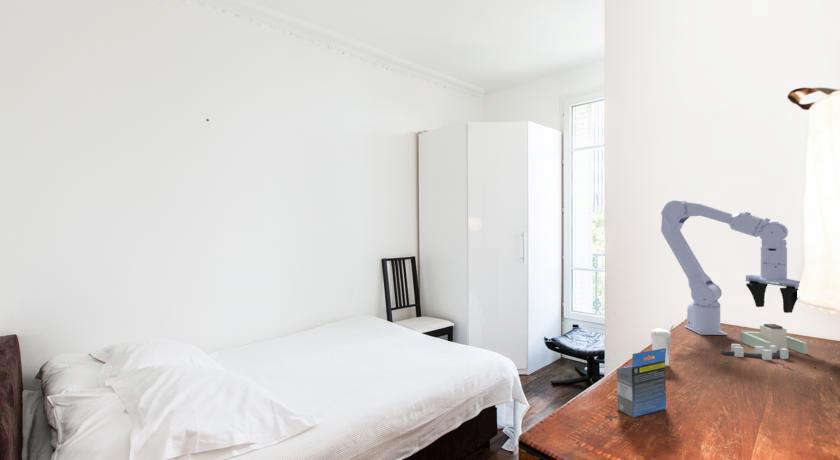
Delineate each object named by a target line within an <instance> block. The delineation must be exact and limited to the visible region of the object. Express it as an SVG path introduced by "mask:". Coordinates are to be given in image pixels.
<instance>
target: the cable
mask: <svg viewBox="0 0 840 460" xmlns="http://www.w3.org/2000/svg"><path fill="white" fill-rule="evenodd" d="M719 353H720V354H721V355H727V356H728V355H730V356H734V351H731V350H725V349H720V352H719ZM788 356H790V352H789V351H788ZM744 357H749V358H757V359H762V354H756V353H755V352H747V351H746V352H745V351H744ZM774 358H775V359H777V358H780V351H778V352H777V353H772V359H774Z"/></svg>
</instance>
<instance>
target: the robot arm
mask: <svg viewBox="0 0 840 460" xmlns="http://www.w3.org/2000/svg"><path fill="white" fill-rule="evenodd" d="M660 213H661V224H660V225H661V227H660V232H661V233H662V236H663V238H664V239H665V240H666V242H667V244H668V246H669V248H670V250H671V251H672V253H673V255H674V256H675V259H676V260H677V262H678V263H679V266H680V267H681V269H682V271H683V272H684V274H685V276H686V278H687V280H688V281H687V282H688V287H689V289H690V293H691V299H692V302H691V303H689V305H688V306H687V314H686V317H687V319H686V320H687V322H686V323H687V325H684V327H685V328H686V329H688V330H690V331H692V332H695V333H697V334H699V335H702V336H704V335H705V336H706V335H707V336H710V335H711V336H712V335H713V336H714V335H715V336H727V335H728V333H727V332H724V331H723V330H721V303H720V302H719V299H720V298H721V297H722V289H721V287H720V286H719V285H717V284H716V283H715V282H714V281H713V280H712V279H711V277H710V276H709V275H708V274H707V273H706V272H705V271H704V269H703V267H702V265H701V263H700V262H699V260H698V259H697V257H696V255H695V254H694V251H693V250H692V248H691V247H690V245H689V243H688V242H687V240H686V238H685V236H684V234H683V233H682V231H681V229H682V228H683V226H684V224H685V222H687V220H688V219H689V218H690V217H698V216H700V217H703V218H707V219H710V220H714V221H717V222H721V223H724V224H728V225H729V228H730V229H731V230H733V231H735V232H739V233H742V234H745V235H748V236H751V237H755V238H757V237H759V238H760V239H761V247H760V275H754V274H746V275H745V282H748V283H746V284H745V286H746V287H747V288H748V290H749V291H750V293H751V296H752V298H753V301H754V304H755V307H756V308H762V307H764V306H765V296H766V291H767V287H768V285H771V286H779V287H780V288H779V291H780V294H781V296H782V297H781V298H782V310H783V313H786V314H789V313H793V311H794V308H795V305H796V303H797V300H798V299H799V297H798V298H797V290H798V287H799V283H800V280H795V279H791V278H788V248H787V239H786V238H787V237H788V233H789V230H788V228H787V226H786V225H785V224H783V223H780V222H779V221H771V219H770V218H767V217H766V218H761V217H758V216H755V215H752V213H751V212H748V211H745V212H741V211H740V212H738V213H734V214H732V213H729V212H726V211H724V210H721V209H717V208H714V207H711V206H709V205H706V204H701V203H697V202H689V201H686V200H671V201H668V202H667V203H665V205H664V207H663V208H662V211H660Z"/></svg>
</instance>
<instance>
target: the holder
mask: <svg viewBox="0 0 840 460" xmlns="http://www.w3.org/2000/svg"><path fill="white" fill-rule="evenodd" d="M739 342H740V343H742V344H744V345H747V346H749V347H752V348H753V349H755V346H762V347H764V350H769V346H771V342H768V341H766V340H763V339H761V338H760V331H739ZM787 349H788V350H789V349H790V350H792V351H794V352H797V353H800V354H802V355H808V342H806V341H803V340H801V339H797V338H794V337H792V336H789V335H787Z"/></svg>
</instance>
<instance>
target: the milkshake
mask: <svg viewBox="0 0 840 460" xmlns="http://www.w3.org/2000/svg"><path fill="white" fill-rule="evenodd" d="M673 328H674V325H671V327H670V329H669V330H668V329H667V330H666V329H663V328H659V327H658V328H657V327H656V328H653V329H651V330H650V338H651V339H650V340H651V347H652V348H651V351H652V350H658V349H663V348H666V354H665V367H668V366H669V365H670V353H671V344H672V343H671V342H672V333H671V332H672V330H673ZM652 359H654V356H652Z"/></svg>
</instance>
